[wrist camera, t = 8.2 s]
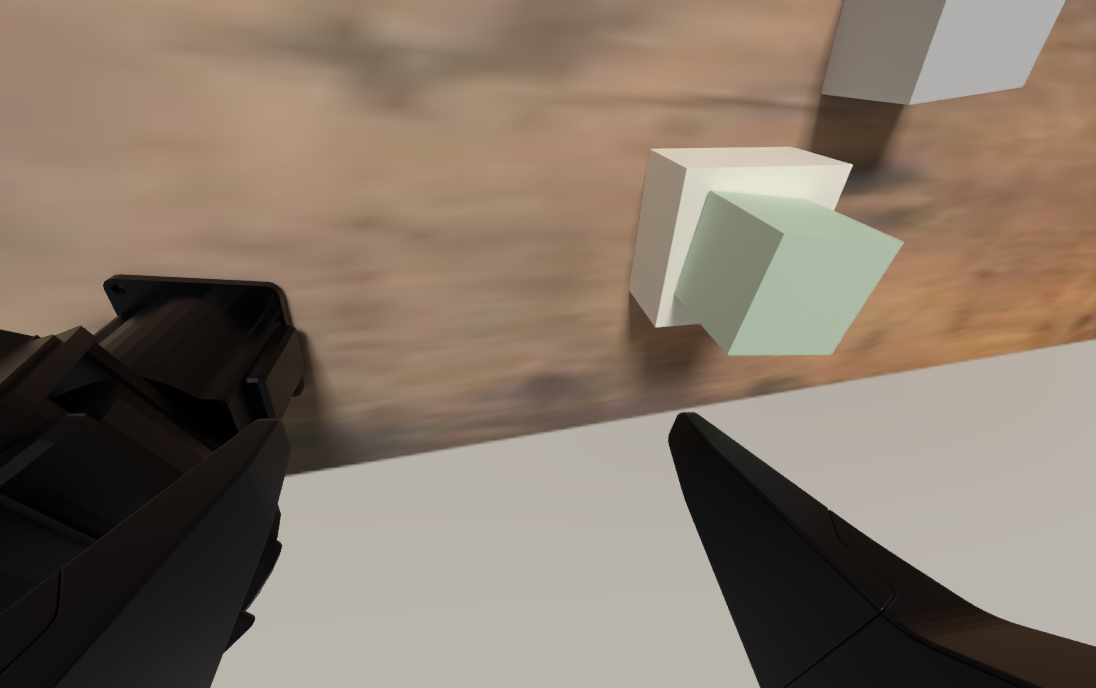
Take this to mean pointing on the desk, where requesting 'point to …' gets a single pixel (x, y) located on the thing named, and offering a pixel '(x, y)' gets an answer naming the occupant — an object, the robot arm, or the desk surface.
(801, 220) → the sage cube
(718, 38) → the desk surface
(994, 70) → the grey cube
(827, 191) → the cream block
